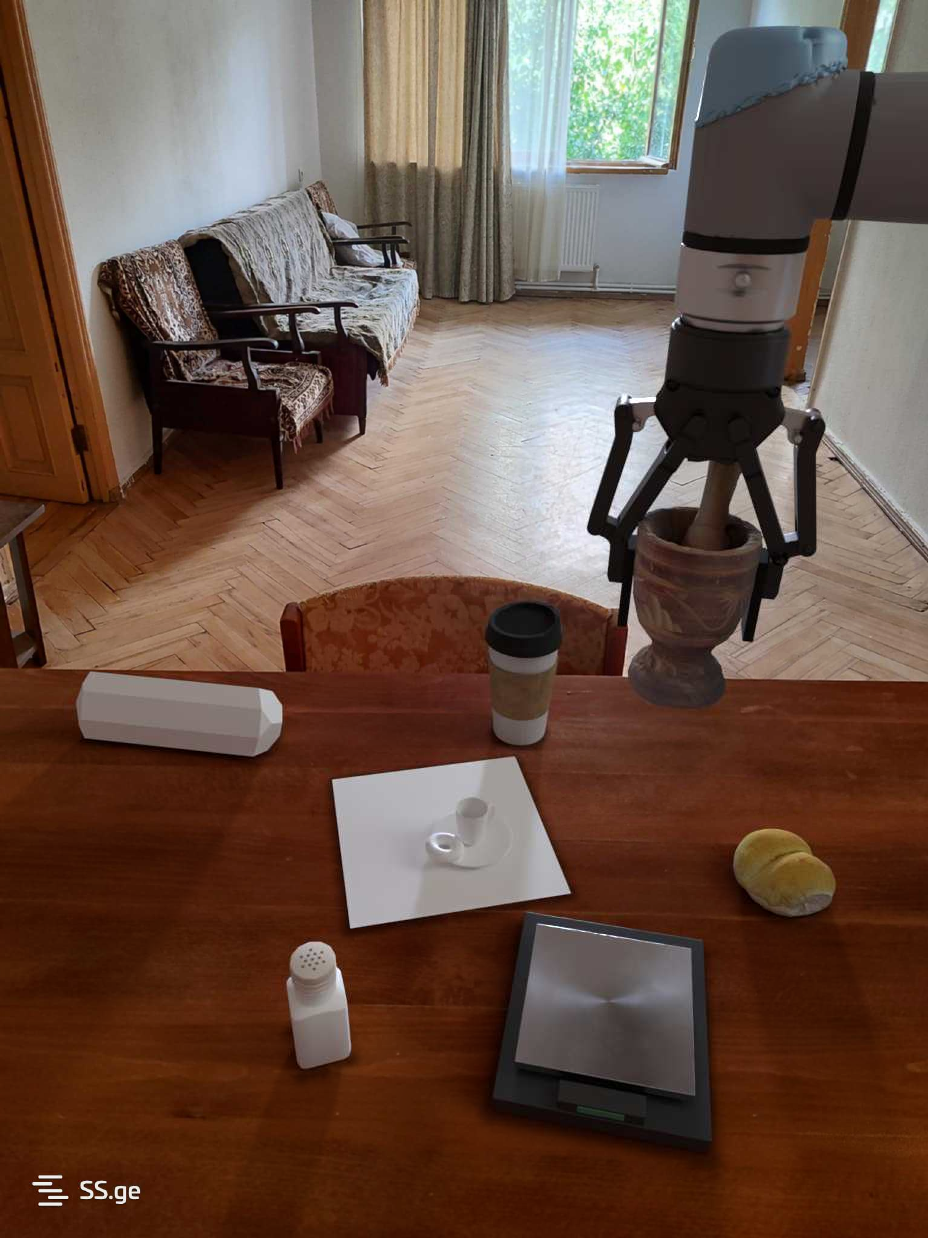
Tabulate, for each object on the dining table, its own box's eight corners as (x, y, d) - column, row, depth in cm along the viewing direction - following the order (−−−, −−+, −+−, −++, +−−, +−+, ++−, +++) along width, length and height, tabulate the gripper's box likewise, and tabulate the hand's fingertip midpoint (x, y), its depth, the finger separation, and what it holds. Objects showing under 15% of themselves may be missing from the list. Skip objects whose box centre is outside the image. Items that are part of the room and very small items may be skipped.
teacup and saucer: (430, 878, 81) (429, 845, 79) (416, 819, 88) (415, 787, 86) (521, 864, 83) (523, 832, 81) (501, 807, 90) (502, 776, 88)
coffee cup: (571, 735, 100) (581, 621, 93) (511, 762, 96) (517, 644, 89) (525, 700, 106) (531, 590, 99) (468, 723, 102) (469, 610, 95)
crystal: (50, 722, 95) (263, 745, 92) (73, 663, 99) (280, 683, 95) (80, 748, 101) (281, 771, 98) (102, 692, 105) (296, 712, 102)
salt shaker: (352, 1060, 66) (345, 976, 61) (299, 1074, 65) (287, 990, 60) (343, 1014, 69) (336, 931, 64) (292, 1027, 68) (280, 943, 63)
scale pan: (690, 955, 72) (691, 948, 71) (693, 1102, 61) (695, 1096, 61) (536, 929, 74) (536, 923, 74) (514, 1068, 63) (514, 1061, 63)
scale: (700, 952, 75) (705, 933, 73) (708, 1154, 60) (713, 1134, 59) (524, 923, 77) (526, 904, 76) (491, 1110, 63) (492, 1090, 61)
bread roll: (787, 839, 86) (795, 808, 84) (846, 907, 79) (856, 875, 77) (712, 856, 84) (719, 824, 82) (766, 928, 77) (774, 895, 75)
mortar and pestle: (623, 630, 75) (648, 398, 65) (727, 640, 74) (769, 404, 64) (619, 708, 65) (648, 448, 55) (739, 721, 64) (791, 458, 54)
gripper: (557, 321, 55) (538, 632, 66) (925, 342, 51) (837, 669, 62) (572, 299, 61) (552, 587, 73) (899, 316, 57) (824, 618, 69)
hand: (684, 625), depth 67 cm, fingers closed on mortar and pestle, 8 cm apart
